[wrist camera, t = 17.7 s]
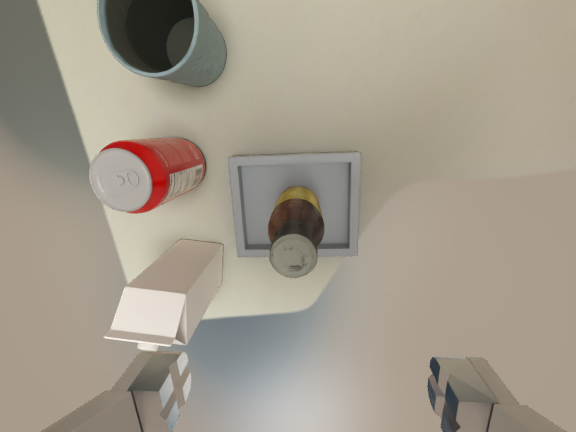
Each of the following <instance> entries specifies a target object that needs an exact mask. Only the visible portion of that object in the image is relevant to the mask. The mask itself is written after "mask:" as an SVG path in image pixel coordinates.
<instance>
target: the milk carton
mask: <svg viewBox="0 0 576 432" xmlns="http://www.w3.org/2000/svg"><path fill="white" fill-rule="evenodd" d="M222 260H223V244H218V243H210V242H201V241H193V240H184V239H181V240H179V241H178V242H177V243H176V244H175V245H173V246H172V247H171V248H170V249H169V250H168V251H166V252H165V253H164V254H163V255H162V256H161V257H160V258H158V259H157V260H156V261H155V262H154V263H153V264H151V265H150V266H149V267H148V268H147V269H146V270H144V271H143V272H142V273H141V274H140V275H139V276H137V277H136V278H135V279H134V280H133V281H132V282H131V283H129V284H128V285H127V286H126V287H125V288H124V291H123V294H122V297H121V299H120V302H119V305H118V308H117V311H116V314H115V317H114V320H113V323H112V326H111V329H110V330H109V331H108V332H107V333H106V334H105V335H104V338H108V339H115V340H123V341H131V342H138V346H137V348H138V349H141V350H146V351H157V349H158V346H159V345H161V346H171V345H172V344H180V345H187V343H188V342H189V340H190V338H191V336H192V335H193V333H194V331H195V329H196V327H197V326H198V324H199V322H200V320H201V319H202V317H203V315H204V313H205V311H206V310H207V308H208V306H209V304H210V303H211V301H212V299H213V297H214V295H215V294H216V292H217V290H218V288H219V287H220V285H221V283H222Z"/></svg>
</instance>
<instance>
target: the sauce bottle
mask: <svg viewBox="0 0 576 432" xmlns="http://www.w3.org/2000/svg"><path fill="white" fill-rule="evenodd" d="M268 236H269V239H270V242H271V244H272V245H271V248H270V254H269V257H270V262H271V264H272V266H273V267H274V269H275V270H276V271H277V272H278V273H280V274H281V275H283V276H285V277H290V278H298V277H301V276H304V275H306V274H308V273H309V272H310V271H311V270H312V269H313V268H314V267H315V265H316V262H317V252H318V250H317V246H318V245H319V244H320V242H321V241H322V239H323V236H324V221H323V217H322V213H321V209H320V205H319V201H318V199H317V197H316V195H315V194H314V193H313V192H312V191H311V190H309V189H307V188H305V187H300V186H296V187H290V188H288V189H287V190H285V191H284V192H283V193H282V194H281V195H280V196H279V198H278V200H277V202H276V205H275V207H274V209H273V211H272V214H271V217H270V220H269V223H268Z"/></svg>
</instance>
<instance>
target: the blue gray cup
mask: <svg viewBox="0 0 576 432" xmlns="http://www.w3.org/2000/svg"><path fill="white" fill-rule="evenodd" d="M97 15H98V21H99V27H100V31H101V34H102V36H103V39H104V42H105V43H106V45H107V47H108V49H109V50H110V52H111V53H112V54H113V56H114V57H115V58H116V59H117V60H118V61H119V62H120V63H121V64H122V65H123V66H124V67H126V68H127V69H129V70H130V71H132V72H134V73H136V74H139V75H142V76H146V77H152V78H158V79H163V80H169V81H172V82H176V83H182V84H186V85H189V86H195V87H201V86H205V85H208V84H210V83H212V82H213V81H215V80H216V79H217V78H218V77H219V76H220V74H221V72H222V70H223V69H224V66H225V62H226V46H225V42H224V39H223V36H222V34H221V32H220V31H219V29H218V28H217V26H216V25H215V23H214V22H213V21H212V20H211V19H210V17H209V15H208V13H207V12H206V10H205V9H204V7H203V6H202V4H201V3H200V2H199V0H97Z"/></svg>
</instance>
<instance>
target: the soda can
mask: <svg viewBox="0 0 576 432" xmlns="http://www.w3.org/2000/svg"><path fill="white" fill-rule="evenodd" d="M204 173H205V161H204V158H203V155H202V153H201V152H200V150H199V149H198V148H197V147H196V146H195V145H194V144H193V143H192V142H190V141H188V140H186V139H183V138H156V139H139V140H123V141H117V142H113V143H111V144H109V145H107V146H106V147H104V148H103V149H102V150H101V151H100V153H99V154H98V155H97V156H96V157H95V158H94V159H93V161H92V163H91V165H90V170H89V179H90V183H91V186H92V189H93V191H94V193H95V194H96V195H97V197H98V198H99V199H100V200H101V201H102V202H103V203H104V204H105V205H107V206H108V207H110V208H112V209H114V210H117V211H122V212H127V213H144V212H147V211H150V210H152V209H154V208H156V207H158V206H160V205H162V204H164V203H166V202H168V201H170V200H172V199H174V198H176V197H178V196H180V195H181V194H183V193H185V192H187V191H189V190H191V189H193V188H195V187H196V186H197V185H198V184H199V183H200V182H201V180H202V179H203V177H204Z"/></svg>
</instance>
